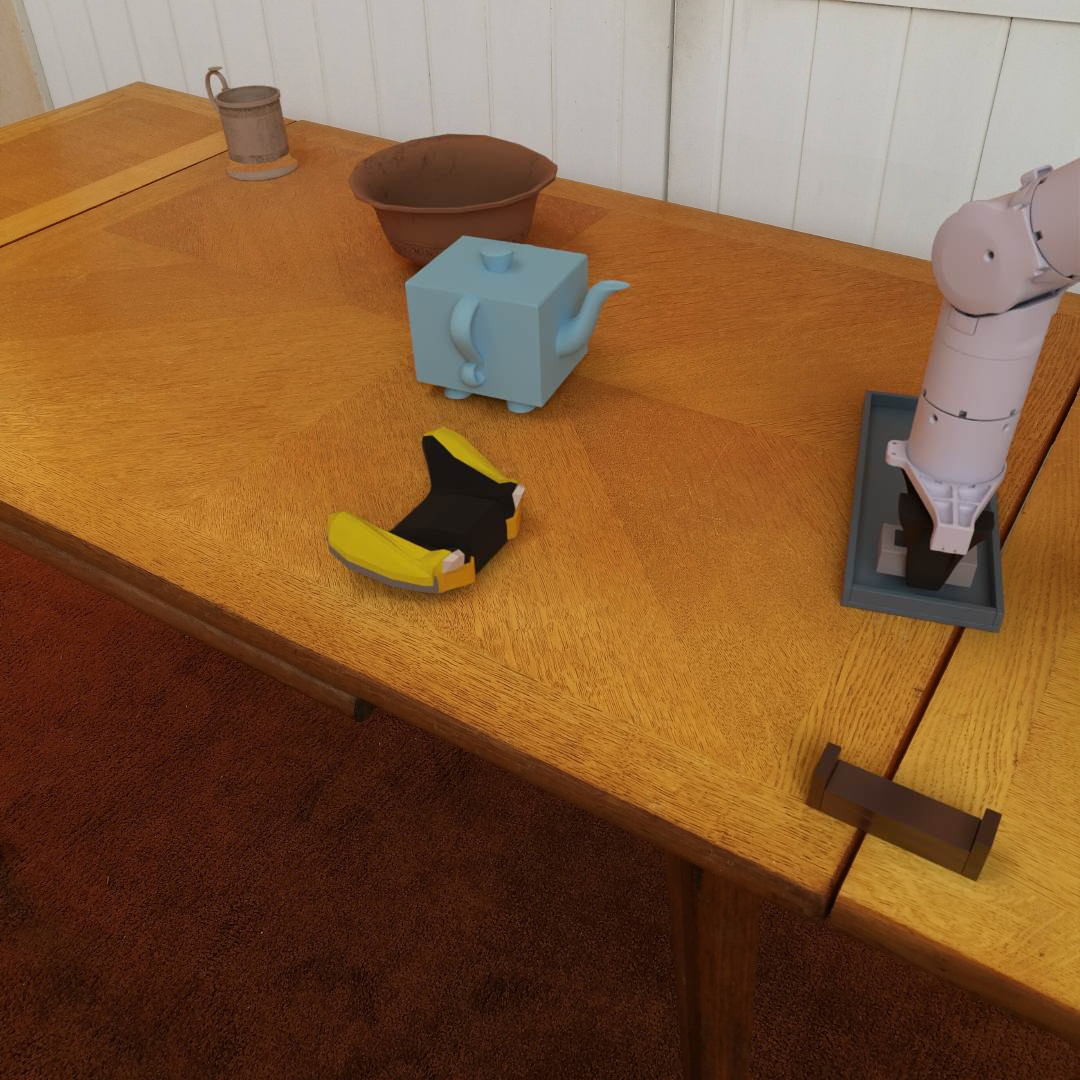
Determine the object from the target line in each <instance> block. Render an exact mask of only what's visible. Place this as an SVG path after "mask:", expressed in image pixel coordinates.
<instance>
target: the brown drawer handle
mask: <svg viewBox="0 0 1080 1080" xmlns="http://www.w3.org/2000/svg"><path fill="white" fill-rule="evenodd" d="M842 749H843V747H842V746H840V745H838V744H835V743H833V742H830V741H827V743H826V745H825V747H824V748H823V751H822V753H821V754H820V757H819V759H818V761H817V762H816V765H815V767H814V769H813V770H812V774H811V778H810V783H809V787H808V791H807V796H806V801H805V806H807V807H809V808H811V809H813V810H816V811H819V812H820V813H823V814H825V815H827V816H829V817H832V818H833V819H836V820H838V821H840V822H843V823H844V824H847V825H849V826H852V827H854V828H856V829H858V830H861V831H863V832H864V833H867V834H869V835H872V836H873V837H876V838H878V839H880V840H883V841H885V842H887V843H890V844H891V845H894V846H896V847H899V848H900V849H902V850H905V851H907V852H909V853H911V854H914V855H915V856H918V857H921V858H922V859H924V860H927V861H929V862H931V863H934V864H936V865H938V866H941V867H942V868H945V869H947V870H949V871H952V872H954V873H956V874H957V875H961V876H963V877H965V878H968V879H969V880H971V881H974V882H977V881H978V880H979V878H980V876H981V873H982V871H983V870H984V869H983V868H984V866H985V864H986V862H987V859H988V857H989V855H990V853H991V851H992V848H993V845H994V842H995V838H996V837H997V836H996V835H997V833H998V829H999V826H1000V822H1001V820H1002V817H1003V814H1002V813H1001V812H998V811H996V810H994V809H992V808H988V807H986V808H985V810H984V812H983V814H982V817H981V818H980V817H979V816H975V815H973V814H972V813H971V814H970V813H969V812H966V811H964V810H962V809H959V808H956V807H955V806H952V805H950V804H947V803H946V802H942V801H940V800H938V799H936V798H933V797H930V796H928V795H926V794H923V793H921V792H919V791H916V790H914V789H912V788H909V787H907V786H904V785H902V784H900V783H897V782H895V781H892V780H890V779H888V778H885V777H884V776H880V775H879V774H876V773H874V772H872V771H869V770H867V769H864V768H862V767H860V766H857V765H855V764H854V763H853V764H852V763H850V762H848V761H845V760H844V759H840V757H841V753H842Z"/></svg>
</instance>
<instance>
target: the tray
mask: <svg viewBox="0 0 1080 1080" xmlns="http://www.w3.org/2000/svg"><path fill="white" fill-rule="evenodd" d="M919 396H920V395H911V394H902V393H896V392H895V393H894V392H886V391H878V390H869V389H865V394H864V399H863V403H862V409H861V419H860V428H859V437H858V445H857V454H856V464H855V470H854V481H853V488H852V489H853V490H852V497H851V507H850V517H849V525H848V533H847V543H846V551H845V552H846V553H845V561H844V570H843V578H842V586H841V595H840V606H843V607H848V608H854V609H859V610H865V611H870V612H876V613H882V614H886V615H887V614H888V615H892V616H893V615H894V616H900V617H905V618H911V619H916V620H922V621H927V622H928V621H929V622H933V623H939V624H945V625H949V626H950V625H952V626H955V627H956V626H957V627H962V628H968V629H973V630H980V631H985V632H991V633H996V634H997V633H998V634H999V631H1000V629H1001V626H1002V623H1003V620H1004V619H1005V615H1006V613H1005V598H1004V597H1005V596H1004V584H1003V583H1004V582H1003V570H1002V569H1003V568H1002V567H1003V565H1002V554H1001V540H1000V524H999V523H1000V522H999V508H998V496H997V494H998V492H997V490H996V491H995V493H994V494H993V496H992V497H991V499H990V500H989V502H988V503H987V505H986V506H985V508H984V509H983V510H985V511H992V512H994V520H995V526H994V529H993V531H992V533H991V534H990V536H989V537H988V538H987V539H985V540H984V541H982V542H980V543H979V544H977V545H976V547H977V568H976V571H975V574H974V577H973V580H972V583H971V586H970V587H963V586H957V585H951V584H945V583H944V585H943V586H942V587H941V588H940V590H939V591H932V590H926V589H920V588H914V587H909V586H907V582H906V577H902V576H896V575H890V574H884V573H878V572H876V565H877V552H878V543H879V539H880V535H881V531H882V526H883V524H884V523H885V524H892V525H898V526H901V524H900V520H899V515H898V503H899V495H900V493H908V491H907V487H906V482H905V479H904V476H903V473H902V470H901V467H897V466H891V465H889V464H888V463H886V460H885V459H886V449H887V445H888V442H889V441H892V440H899V441H906V440H908V439H909V438H910V433H911V429H912V425H913V421H914V417H915V413H916V409H917V405H918V400H919Z"/></svg>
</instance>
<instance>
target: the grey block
mask: <svg viewBox="0 0 1080 1080" xmlns="http://www.w3.org/2000/svg"><path fill="white" fill-rule="evenodd" d="M906 556H907V542H906V537H905V533H904V530H903V528H902V526H898V525H892V524H885V523H884V524H883V526H882V531H881V535H880V539H879V543H878V552H877V565H876V572H878V573H884V574H890V575H896V576H902V577H906ZM976 568H977V547H976V546H974V547H973V548H972V549H971V550H970V551H968V552H967V554H966V555H965V556H964V557H963V558H962V559H961V560H960V562H959V563H958V564H957V566H956V567H955V569H954V570H953V572H952V573H951V575H950V576H949V578H948V579H947V581H946V582H945V584H951V585H957V586H963V587H970V586H971V583H972V580H973V577H974V574H975V571H976Z"/></svg>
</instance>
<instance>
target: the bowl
mask: <svg viewBox="0 0 1080 1080" xmlns="http://www.w3.org/2000/svg"><path fill="white" fill-rule="evenodd" d="M558 168H559V167H558V165H557V164H556V163H554V162H553V160H551V159H550V158H548V157H547V156H546V155H543V154H542V153H539V152H537V151H535V150H533V149H531V148H529V147H526V146H524V145H523V144H520V143H517V142H513V141H509V140H506V139H503V138H498V137H495V136H490V135H488V134H487V135H486V134H467V133H464V134H463V133H443V134H439V135H432V136H425V137H421V138H415V139H411V140H407V141H404V142H401V143H397V144H396V145H392V146H389V147H386V148H383V149H380V150H378V151H376V152H374V153H373V154H371V155H369V156H367V157H366V158H364V159H361V161H358V162H357V163H356V164H355V166H354V168H353V170H352V172H351V173H350V176H349V177H348V178H347V179H348V181H347V182H348V185H349V187H350V189H351V191H352V193H353V195H354V198H355V200H357V201H360V202H362V203H364V204H367V205H369V206H370V207H372V209H373V211H374V213H375V215H376V217H377V219H378V220H377V221H378V222H379V225H380V227H381V230H382V231H383V233H384V235H385V237H386V239H387V241H388V243H389V246H390V247H391V248H392V249H393V251H394V252H395V253H396V254H397V255H399V256H400V257H402V258H404V259H406V260H408V261H410V262H412V263H413V264H415V265H418V266H420V270H421V269H423V268H424V267H425V266H426V265H427V264H429V263H430V262H431V261H432V260H433V259H435V258H436V257H437V256H438V255H440V254H441V253H442V252H443V251H445V250H446V249H447V248H448V247H450V246H451V245H452V244H453V243H455V242H456V241H457V240H458V239H460V238H461V237H462V236H470V237H477V238H484V239H491V240H497V241H504V242H511V243H517V244H525V242H526V241H527V239H528V237H529V234H530V232H531V227H532V223H533V219H534V216H535V212H536V206H537V201H538V196H539V194H540V192H541V191H543V190H544V189H546V188H547V187H548V186H549V185H551V184H552V183H554V182H555V181H556V177H557V174H558Z"/></svg>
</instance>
